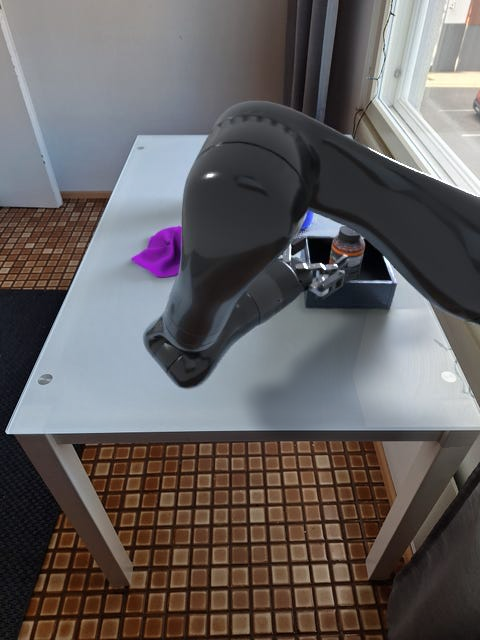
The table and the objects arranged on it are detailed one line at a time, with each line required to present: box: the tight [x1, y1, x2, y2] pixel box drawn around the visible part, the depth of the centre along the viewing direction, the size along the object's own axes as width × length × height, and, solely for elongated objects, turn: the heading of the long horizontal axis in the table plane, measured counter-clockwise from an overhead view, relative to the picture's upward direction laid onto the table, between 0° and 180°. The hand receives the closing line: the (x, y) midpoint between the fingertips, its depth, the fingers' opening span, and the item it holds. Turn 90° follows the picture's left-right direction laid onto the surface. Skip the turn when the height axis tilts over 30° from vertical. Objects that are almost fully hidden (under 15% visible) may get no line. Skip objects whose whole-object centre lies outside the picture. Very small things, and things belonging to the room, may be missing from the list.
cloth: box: [130, 225, 181, 278], centre depth 99 cm, size 22×19×6 cm
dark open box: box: [299, 235, 398, 310], centre depth 91 cm, size 16×16×6 cm
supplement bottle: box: [328, 224, 365, 280], centre depth 89 cm, size 6×6×11 cm
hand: (324, 250), depth 81 cm, fingers open, 8 cm apart
